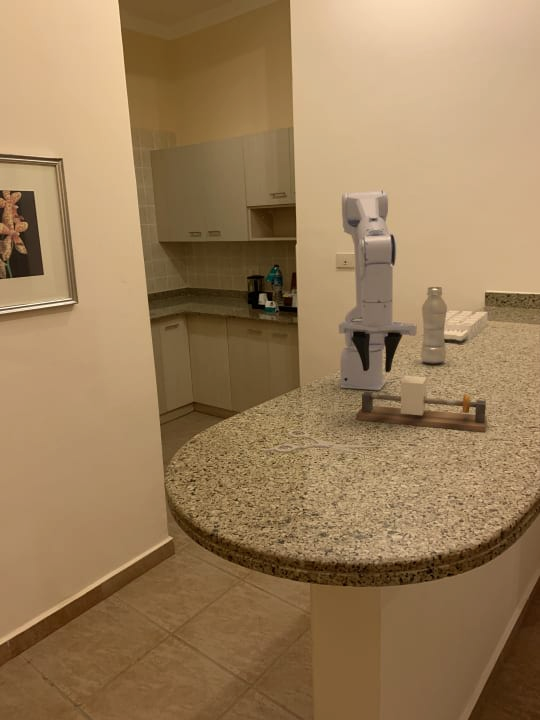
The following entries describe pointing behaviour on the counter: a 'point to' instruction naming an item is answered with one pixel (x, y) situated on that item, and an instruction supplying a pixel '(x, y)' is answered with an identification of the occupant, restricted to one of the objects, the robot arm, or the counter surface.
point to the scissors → (316, 445)
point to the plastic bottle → (434, 327)
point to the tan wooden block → (413, 395)
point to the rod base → (425, 413)
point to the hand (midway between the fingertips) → (377, 370)
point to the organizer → (464, 324)
